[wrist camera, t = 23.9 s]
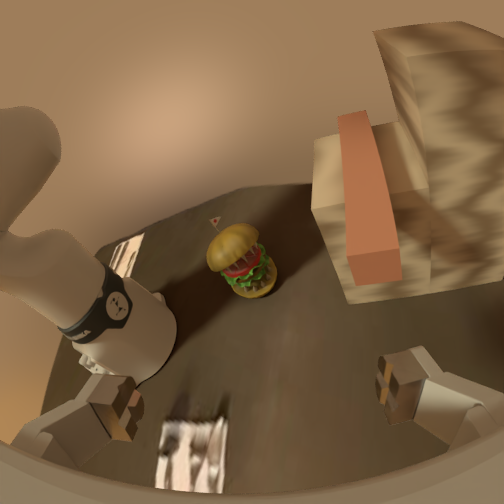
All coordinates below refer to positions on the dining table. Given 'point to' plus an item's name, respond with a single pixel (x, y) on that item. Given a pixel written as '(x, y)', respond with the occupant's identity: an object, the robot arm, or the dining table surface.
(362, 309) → the dining table surface
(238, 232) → the hamburger
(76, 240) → the robot arm
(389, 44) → the stepped stand
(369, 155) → the bar
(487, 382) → the dining table surface
